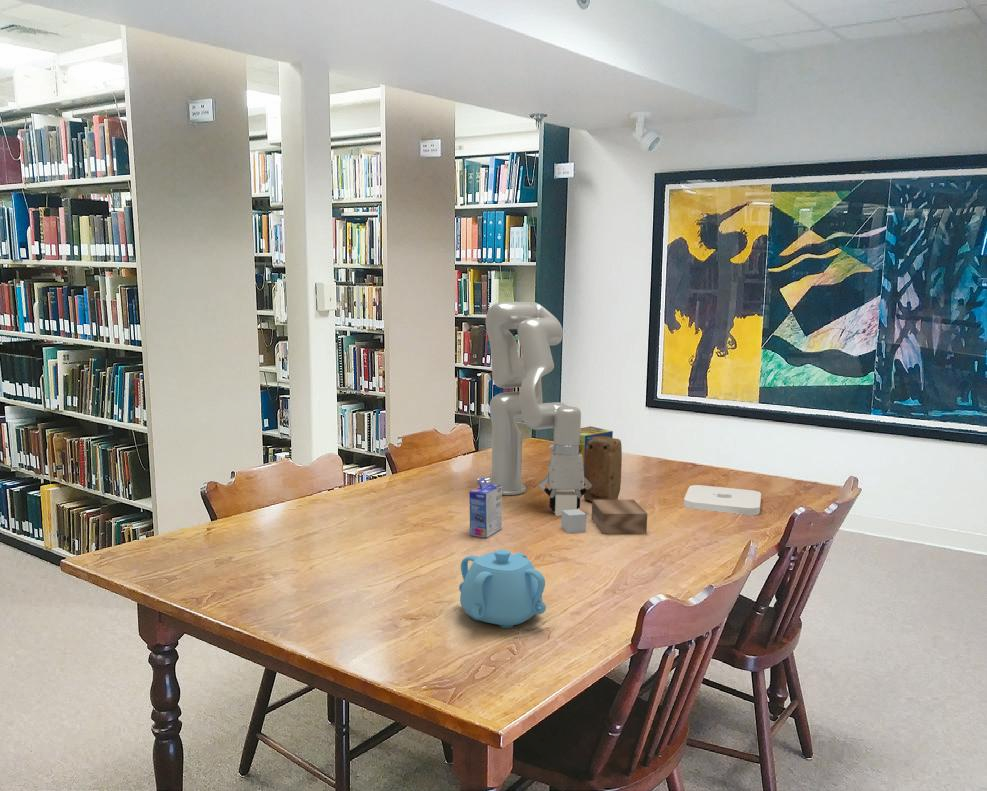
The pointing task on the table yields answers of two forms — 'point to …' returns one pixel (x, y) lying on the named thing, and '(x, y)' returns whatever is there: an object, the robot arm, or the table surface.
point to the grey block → (573, 521)
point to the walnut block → (619, 517)
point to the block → (603, 468)
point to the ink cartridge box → (485, 509)
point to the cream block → (565, 501)
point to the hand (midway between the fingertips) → (564, 509)
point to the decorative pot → (501, 588)
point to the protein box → (591, 437)
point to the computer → (723, 499)
